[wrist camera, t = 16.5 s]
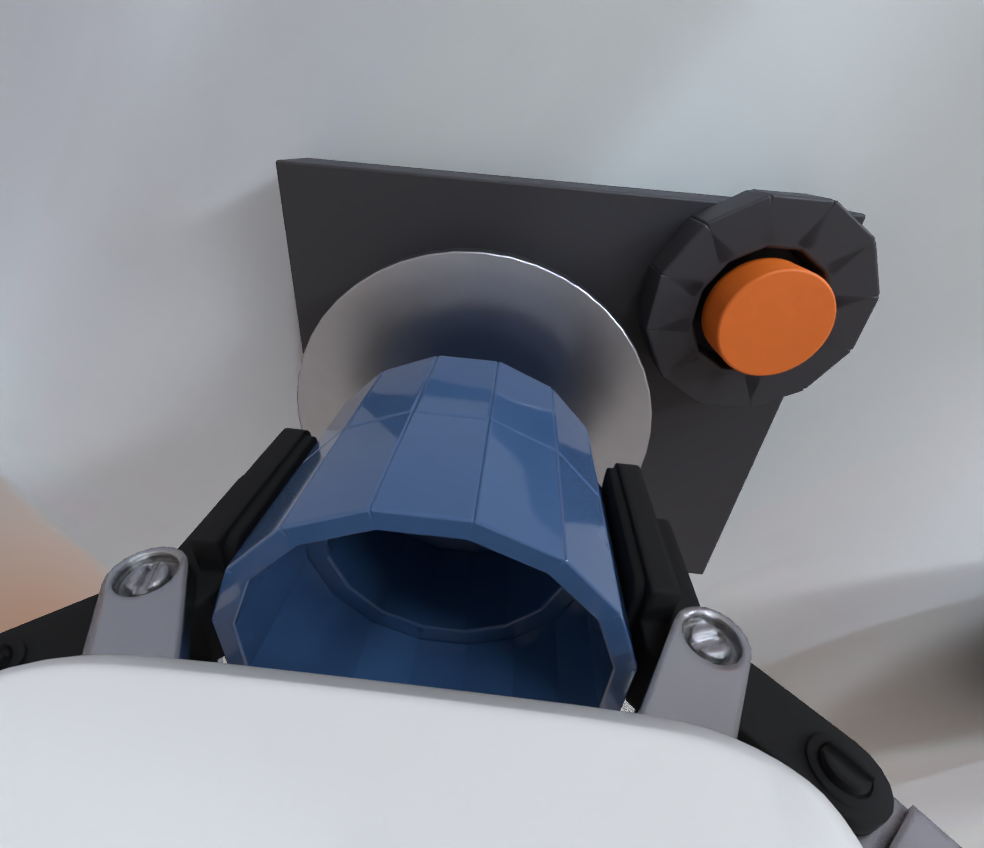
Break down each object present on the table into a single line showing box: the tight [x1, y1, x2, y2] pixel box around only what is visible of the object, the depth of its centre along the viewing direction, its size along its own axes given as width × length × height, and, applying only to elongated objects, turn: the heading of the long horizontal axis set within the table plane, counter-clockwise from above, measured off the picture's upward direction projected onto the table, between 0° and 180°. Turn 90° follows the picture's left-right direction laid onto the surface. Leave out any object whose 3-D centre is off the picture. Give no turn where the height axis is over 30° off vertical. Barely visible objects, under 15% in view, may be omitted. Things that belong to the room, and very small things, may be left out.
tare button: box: [701, 257, 836, 376], centre depth 12 cm, size 3×3×1 cm
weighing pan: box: [297, 248, 652, 487], centre depth 15 cm, size 11×11×1 cm
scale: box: [276, 158, 880, 574], centre depth 16 cm, size 16×14×4 cm
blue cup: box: [212, 356, 637, 711], centre depth 11 cm, size 7×7×6 cm
